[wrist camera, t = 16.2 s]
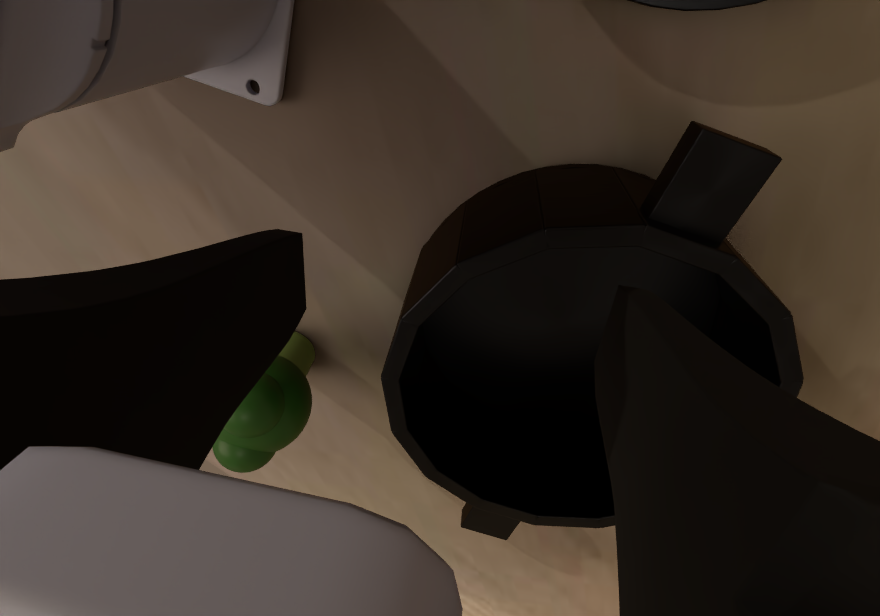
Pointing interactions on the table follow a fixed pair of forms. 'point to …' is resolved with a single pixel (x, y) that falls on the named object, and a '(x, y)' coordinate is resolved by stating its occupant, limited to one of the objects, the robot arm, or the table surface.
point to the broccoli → (269, 411)
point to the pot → (568, 322)
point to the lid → (696, 4)
